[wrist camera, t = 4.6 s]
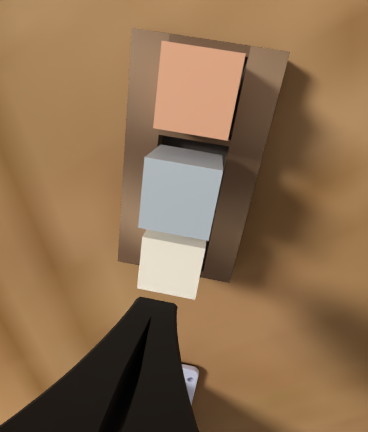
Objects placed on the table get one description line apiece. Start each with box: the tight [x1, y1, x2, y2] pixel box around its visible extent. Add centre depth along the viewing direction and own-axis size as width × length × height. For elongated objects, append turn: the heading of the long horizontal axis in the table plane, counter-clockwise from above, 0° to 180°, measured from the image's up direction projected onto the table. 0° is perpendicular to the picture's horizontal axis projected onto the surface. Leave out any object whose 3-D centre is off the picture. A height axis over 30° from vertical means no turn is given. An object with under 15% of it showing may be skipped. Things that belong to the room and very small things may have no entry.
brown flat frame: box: [118, 28, 290, 283], centre depth 14 cm, size 12×7×1 cm, turn 172°
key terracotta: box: [153, 41, 246, 141], centre depth 11 cm, size 3×3×3 cm
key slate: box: [138, 145, 223, 241], centre depth 12 cm, size 3×3×3 cm
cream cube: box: [137, 229, 206, 300], centre depth 14 cm, size 3×3×3 cm
